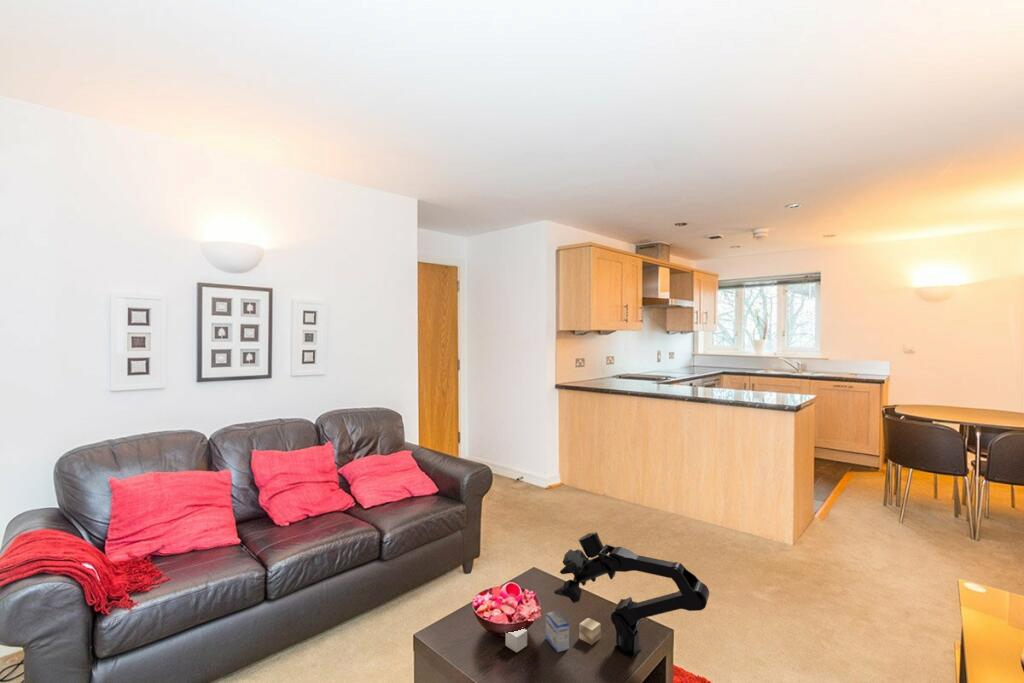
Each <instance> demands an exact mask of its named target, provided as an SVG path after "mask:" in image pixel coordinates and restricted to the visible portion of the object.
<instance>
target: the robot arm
mask: <svg viewBox="0 0 1024 683" xmlns="http://www.w3.org/2000/svg"><path fill="white" fill-rule="evenodd" d="M578 543H579V545H580V546H581V548H582V550H583V551H582V550H581V549H576V550H573V549H571V548H570V549H569V550H568V551H567V552H566V553H565V554H564V555H563V556H564V557H563V560H562V564H563V565H564V567H562V568H561V570H560V571H559V574H561V575H567V574H572V575H573V579H568V580H567V581H564V583H563V585H562V586H561V587H558V588H557V589H555V590H553V593H554V595H557V596H562V597H566V598H569V599H570V601H571V602H572V603H573V604H578V603H579V602H580V601H581V600H580V599H581V596H582V590H581V588H580V584H581V585H582V586H586V583H587V582H589V581H591V582H593V583H594V582H596V580H597V578H599V577H601V576H605V575H606V574H607V575H608V577H609V579H610V580H614V577H615V576H616V572H617V573H618V572H621V573H624V572H625V573H626V572H633V571H635V572H636V571H637V572H639V573H640V572H641V573H643V574H644V573H645V574H650V575H655V576H660V577H663V578H668V579H672V581H673V582H674V583H675V585H676V587H677V588H678V591H676V592H673V593H668V594H664V595H661V596H657V597H653V598H650V599H646V600H642V601H639V602H637V601H633V599H632V597H631V596H629V597H627V598H624V599H623V598H620V600H619V602H618V603H617V605H616V606H615V608H614V609H613V611H612V612H611V615H610V621H611V622H612V624H613V625H614V629H615V644H616V645H614V650H615V651H618V652H620V653H621V654H623V655H625V656H627V657H628V658H631V659H632V658H634V657H635V656H636V655H637V654H638V653H640V651H641V650H642V646H640V631H638V627H639V626H640V623H641V619H646V618H649V617H653V616H657V615H661V614H662V615H663V614H666V613H671V612H673V611H676V610H677V611H678V610H685V611H688V612H695V611H696V612H698V611H703V610H705V609H706V606H707V603H708V601H709V596H710V591H709V588H708V587H707V585H705V583H703V582H701V581H700V579H699V578H698V577H697V576H696V575H695V574H694V573H692V572H691V571H689V570H688V569H687V568H686V567H685V566H684V564H682V563H681V562H678V561H677V562H676V561H669V560H664V559H659V558H654V557H650V556H649V557H648V556H644V555H638V554H636V553H635V552H633V551H632V550H630V549H627V548H625V547H622V546H613V545H611V544H604V545H603V543H602V541H601V539H600V537H599V534H598V532H596V531H595V532H589V533H586V534H585V535H583V536H582V537H580V538H579V539H578ZM589 558H590V559H589Z"/></svg>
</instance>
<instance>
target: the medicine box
mask: <svg viewBox="0 0 1024 683" xmlns="http://www.w3.org/2000/svg"><path fill="white" fill-rule="evenodd" d="M545 640H546V641H547V642H548V643H549V644H550V645H551V646H552V647H553V649H554V650H555V651H556V652H557V653H560V652H563V651H567V650H569V648H570V622H568V620H567V619H565V618H564V617H563V615H562V614H560V612H559V611H558V610H555V611H550V612H547V613H546V614H545Z"/></svg>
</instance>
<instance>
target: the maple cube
mask: <svg viewBox="0 0 1024 683" xmlns="http://www.w3.org/2000/svg"><path fill="white" fill-rule="evenodd" d="M601 625H602V624H601V623H600V622H598V621H596V620H594V619H592V618H590V617H587V618H585V619H584V620H583V621H581V622H580V623H579V626H578V627H579V628H578V629H579V634H578V636H579V637H578V638H579V639H580V640H581V641H583V642H585V643H587V644H589V645H591V646H593V645H594V644H595V643H596V642H598V641H599V640H600V639H601Z"/></svg>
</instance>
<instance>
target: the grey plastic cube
mask: <svg viewBox="0 0 1024 683" xmlns="http://www.w3.org/2000/svg"><path fill="white" fill-rule="evenodd" d="M505 646H506V647H507V648H509V649H510V650H511V651H514V652H515V653H518V652H520V651H521V650H523V649H524V648H526V647H527V646H528V630H527V629H526V628H524V629H521V630H518V631H514V632H508V633H506V632H505Z"/></svg>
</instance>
